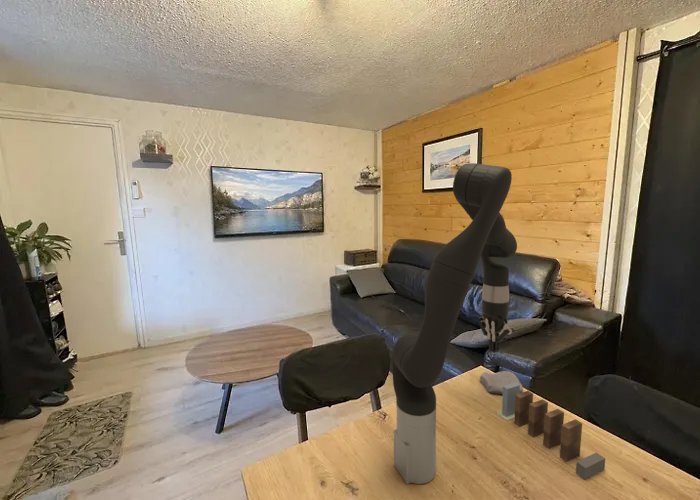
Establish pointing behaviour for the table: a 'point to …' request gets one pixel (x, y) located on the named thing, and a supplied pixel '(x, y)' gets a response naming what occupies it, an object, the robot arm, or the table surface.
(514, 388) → the domino
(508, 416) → the pad
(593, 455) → the block
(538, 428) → the domino
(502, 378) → the stone block
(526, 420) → the domino
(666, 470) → the table surface
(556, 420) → the domino
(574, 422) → the domino
